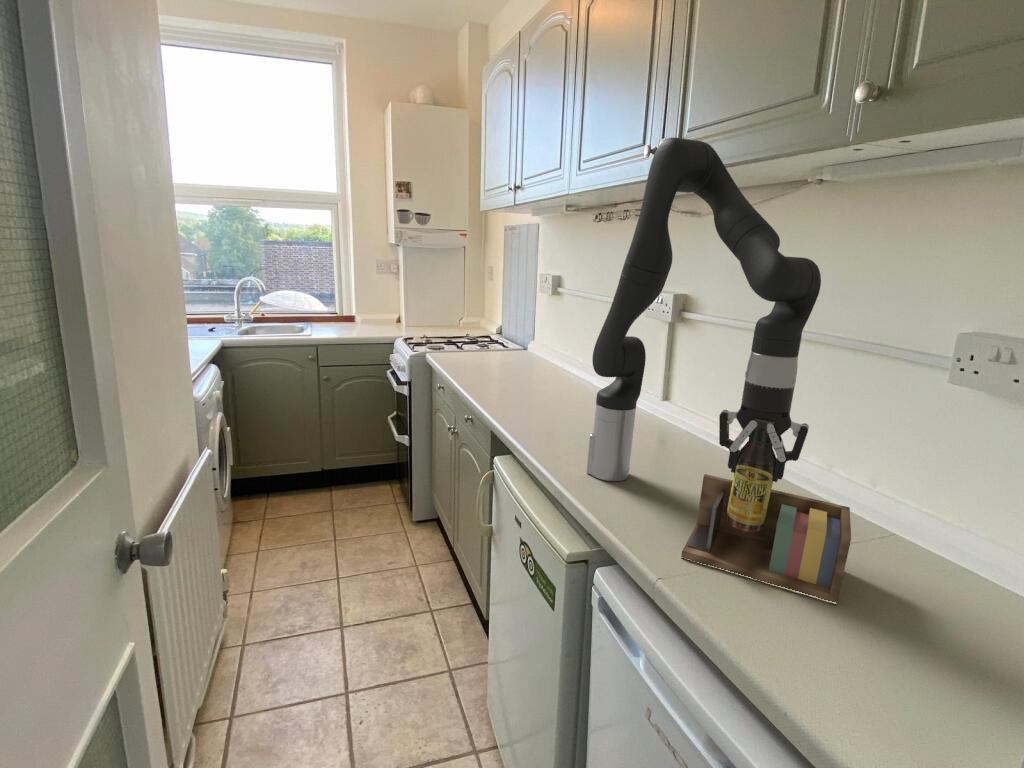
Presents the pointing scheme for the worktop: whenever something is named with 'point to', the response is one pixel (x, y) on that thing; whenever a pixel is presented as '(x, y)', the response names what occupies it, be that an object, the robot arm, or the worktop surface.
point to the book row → (805, 545)
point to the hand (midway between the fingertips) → (754, 475)
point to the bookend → (707, 536)
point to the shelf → (764, 539)
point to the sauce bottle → (752, 481)
